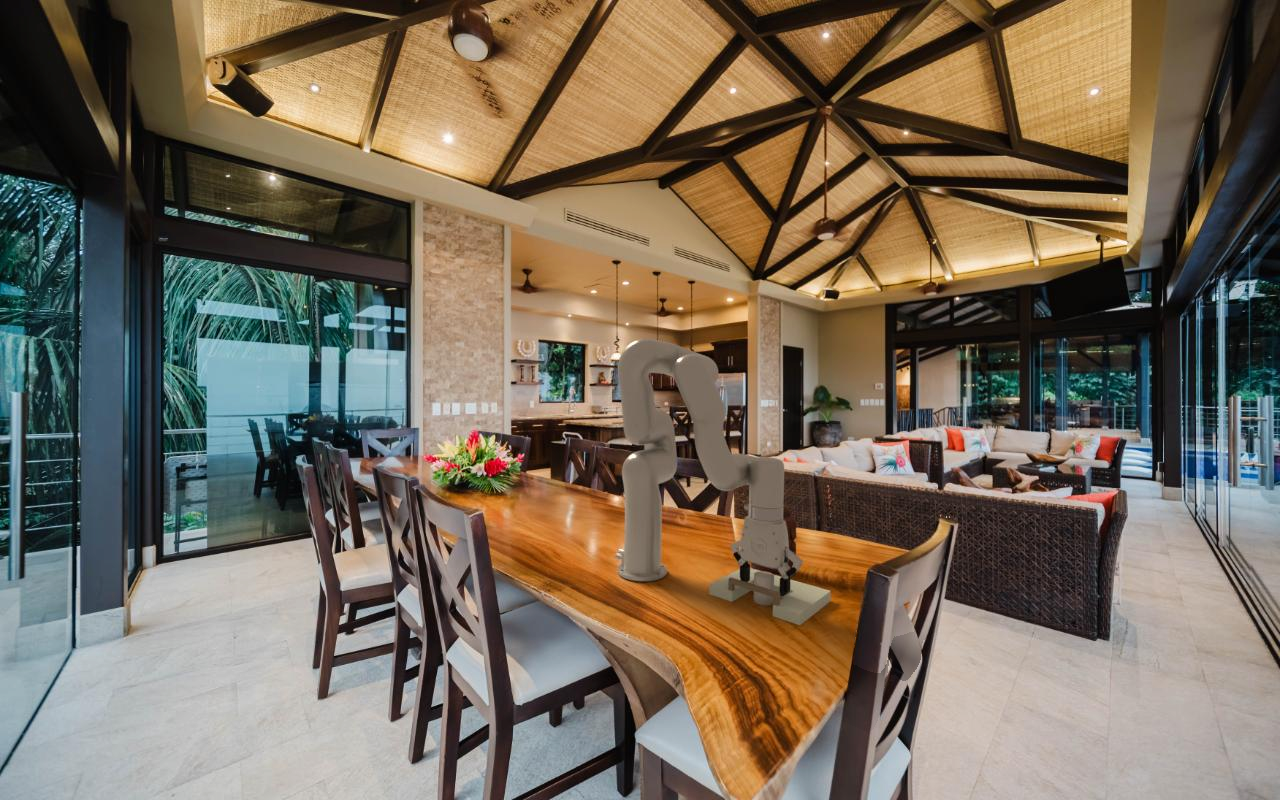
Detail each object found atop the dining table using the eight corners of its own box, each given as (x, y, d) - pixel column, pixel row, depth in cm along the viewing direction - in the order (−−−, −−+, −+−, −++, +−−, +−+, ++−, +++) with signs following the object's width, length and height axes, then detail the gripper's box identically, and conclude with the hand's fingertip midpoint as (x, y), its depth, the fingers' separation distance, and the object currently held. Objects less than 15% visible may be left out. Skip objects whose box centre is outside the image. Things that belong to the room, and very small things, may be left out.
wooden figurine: (794, 568, 134) (796, 501, 134) (795, 576, 128) (797, 506, 127) (749, 563, 137) (751, 498, 137) (748, 571, 131) (750, 503, 131)
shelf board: (709, 594, 116) (709, 572, 116) (744, 575, 128) (745, 556, 128) (799, 625, 101) (800, 601, 101) (830, 601, 113) (830, 579, 113)
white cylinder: (749, 601, 113) (750, 574, 112) (759, 595, 116) (760, 569, 116) (767, 607, 110) (768, 580, 109) (777, 601, 113) (777, 574, 113)
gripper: (723, 509, 115) (722, 582, 116) (795, 523, 104) (793, 605, 104) (740, 503, 121) (739, 573, 121) (810, 517, 109) (808, 594, 110)
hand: (764, 588), depth 113 cm, fingers open, 9 cm apart
